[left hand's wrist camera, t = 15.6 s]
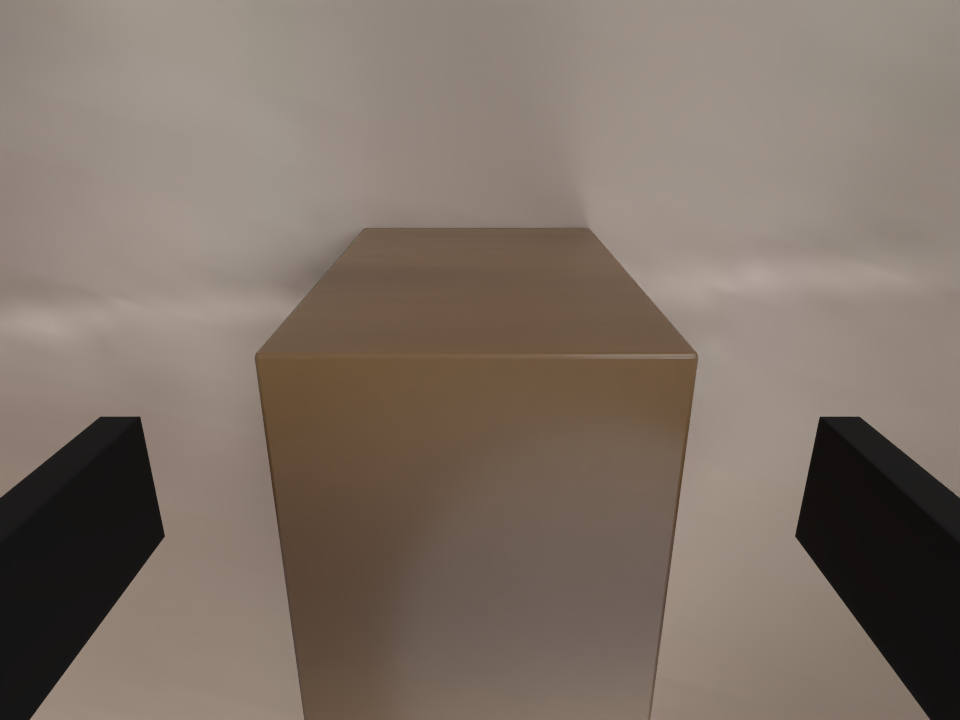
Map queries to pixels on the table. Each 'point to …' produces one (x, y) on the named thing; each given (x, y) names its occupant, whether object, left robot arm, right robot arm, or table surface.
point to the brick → (476, 477)
